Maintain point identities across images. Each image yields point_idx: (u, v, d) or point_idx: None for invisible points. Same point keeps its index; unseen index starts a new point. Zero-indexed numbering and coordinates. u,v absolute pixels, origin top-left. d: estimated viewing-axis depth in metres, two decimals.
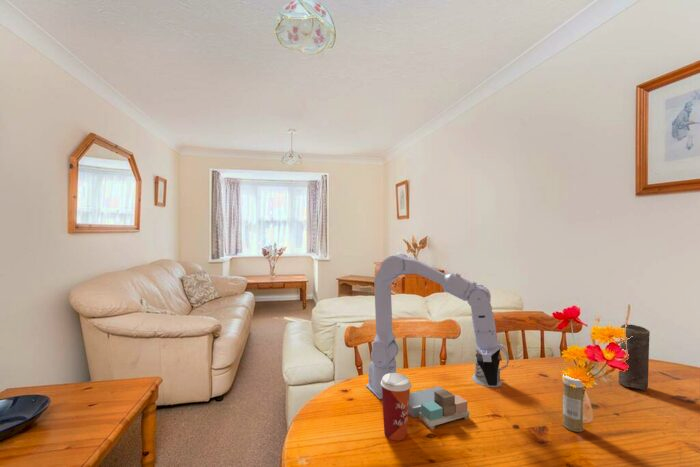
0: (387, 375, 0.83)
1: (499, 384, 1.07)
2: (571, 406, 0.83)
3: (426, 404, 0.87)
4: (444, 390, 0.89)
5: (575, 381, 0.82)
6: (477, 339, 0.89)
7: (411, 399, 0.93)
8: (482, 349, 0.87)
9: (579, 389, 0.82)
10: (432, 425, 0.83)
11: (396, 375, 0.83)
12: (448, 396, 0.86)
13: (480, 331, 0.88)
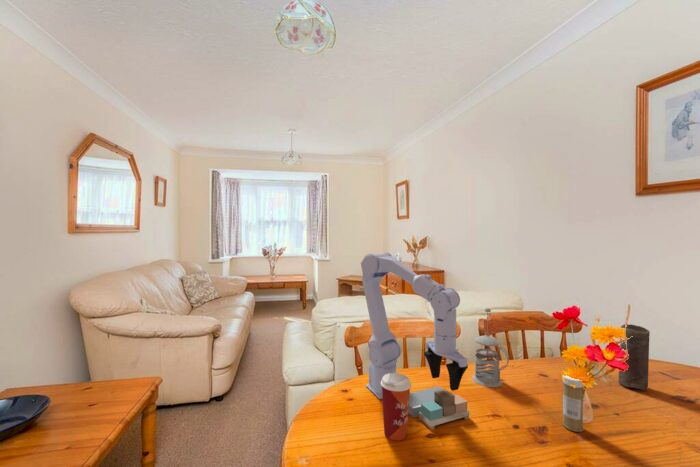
0: (387, 375, 0.83)
1: (499, 384, 1.07)
2: (571, 406, 0.83)
3: (426, 404, 0.87)
4: (444, 390, 0.89)
5: (575, 381, 0.82)
6: (443, 345, 0.85)
7: (411, 399, 0.93)
8: (448, 354, 0.85)
9: (579, 389, 0.82)
10: (432, 425, 0.83)
11: (396, 375, 0.83)
12: (448, 396, 0.86)
13: (437, 334, 0.86)
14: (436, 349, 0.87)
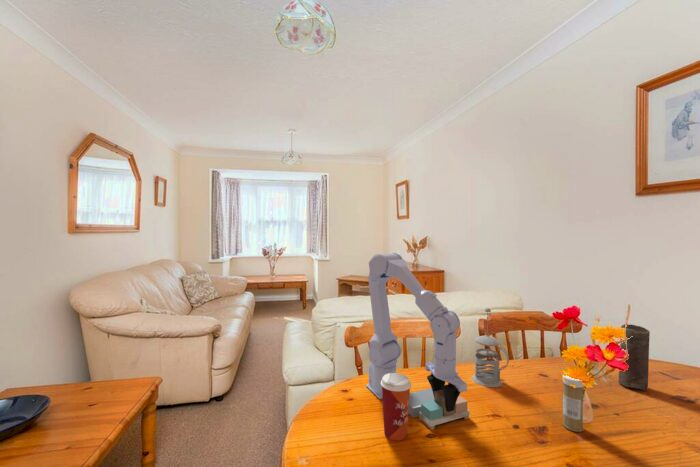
0: (387, 375, 0.83)
1: (499, 384, 1.07)
2: (571, 406, 0.83)
3: (426, 404, 0.87)
4: None
5: (575, 381, 0.82)
6: (443, 369, 0.85)
7: (411, 399, 0.93)
8: (448, 378, 0.85)
9: (579, 389, 0.82)
10: (432, 425, 0.83)
11: (396, 375, 0.83)
12: None
13: (436, 357, 0.86)
14: (436, 372, 0.87)
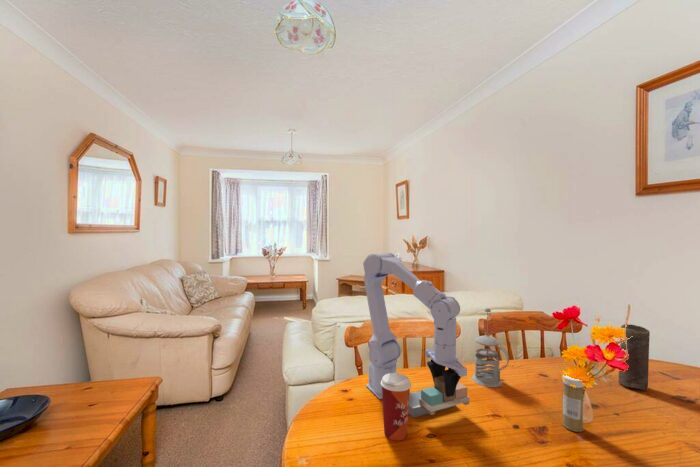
0: (387, 375, 0.83)
1: (499, 384, 1.07)
2: (571, 406, 0.83)
3: (426, 390, 0.87)
4: None
5: (575, 381, 0.82)
6: (443, 354, 0.85)
7: (411, 399, 0.93)
8: (448, 363, 0.85)
9: (579, 389, 0.82)
10: (432, 410, 0.83)
11: (396, 375, 0.83)
12: None
13: (436, 342, 0.86)
14: (436, 358, 0.87)
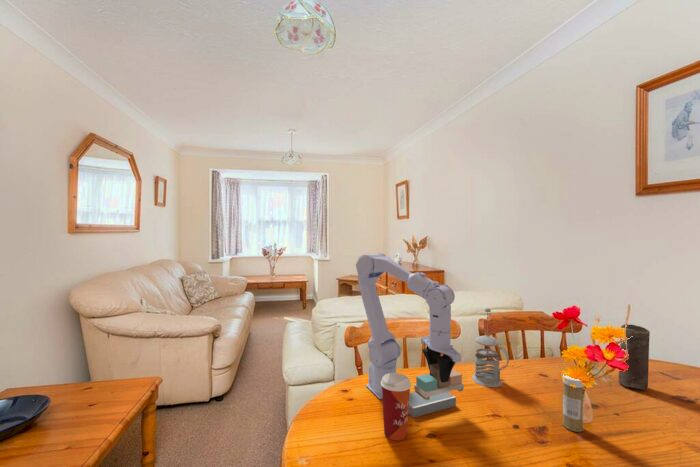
0: (387, 375, 0.83)
1: (499, 384, 1.07)
2: (571, 406, 0.83)
3: (421, 376, 0.89)
4: None
5: (575, 381, 0.82)
6: (437, 340, 0.87)
7: (411, 399, 0.93)
8: (443, 349, 0.87)
9: (579, 389, 0.82)
10: (427, 396, 0.85)
11: (396, 375, 0.83)
12: None
13: (432, 329, 0.88)
14: (431, 344, 0.89)
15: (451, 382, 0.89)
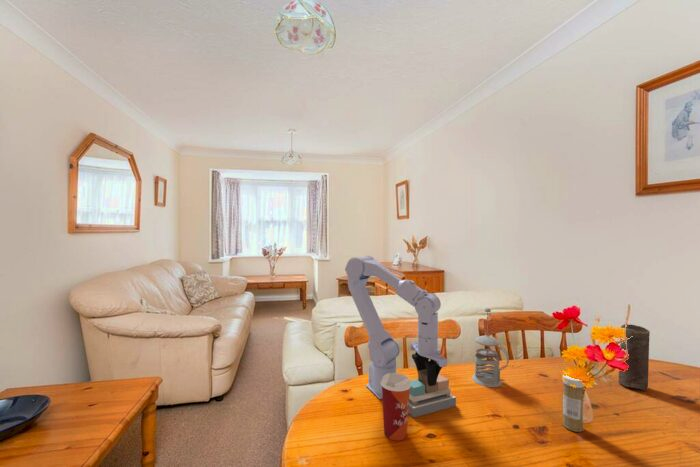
0: (387, 375, 0.83)
1: (499, 384, 1.07)
2: (571, 406, 0.83)
3: (410, 382, 0.94)
4: None
5: (575, 381, 0.82)
6: (425, 346, 0.92)
7: None
8: (430, 355, 0.92)
9: (579, 389, 0.82)
10: (415, 400, 0.90)
11: (396, 375, 0.83)
12: None
13: (421, 336, 0.93)
14: (419, 350, 0.93)
15: (438, 387, 0.94)
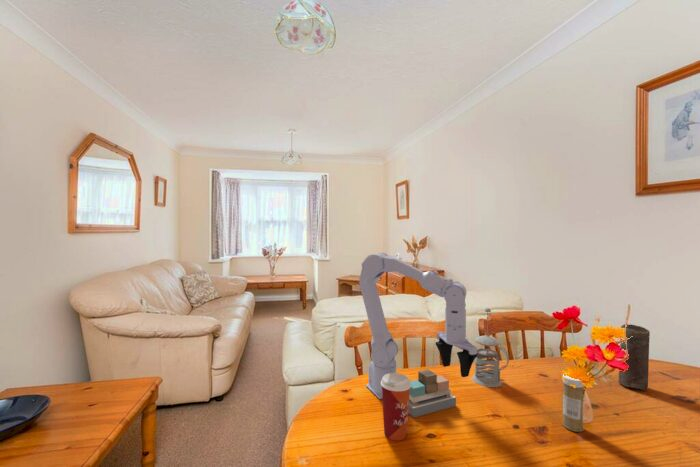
0: (387, 375, 0.83)
1: (499, 384, 1.07)
2: (571, 406, 0.83)
3: (410, 382, 0.94)
4: (427, 370, 0.96)
5: (575, 381, 0.82)
6: (454, 334, 0.91)
7: None
8: (459, 343, 0.91)
9: (579, 389, 0.82)
10: (415, 401, 0.90)
11: (396, 375, 0.83)
12: (430, 375, 0.93)
13: (451, 325, 0.92)
14: (447, 339, 0.93)
15: (438, 388, 0.94)
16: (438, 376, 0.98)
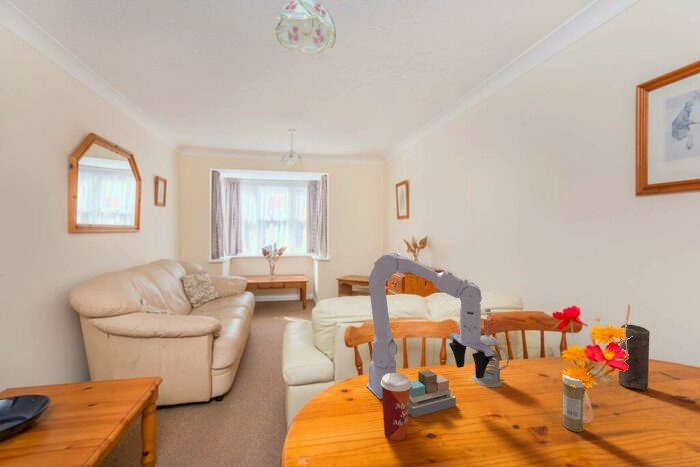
0: (387, 375, 0.83)
1: (499, 384, 1.07)
2: (571, 406, 0.83)
3: (410, 382, 0.94)
4: (427, 370, 0.96)
5: (575, 381, 0.82)
6: (469, 336, 0.91)
7: None
8: (474, 344, 0.90)
9: (579, 389, 0.82)
10: (415, 401, 0.90)
11: (396, 375, 0.83)
12: (430, 375, 0.93)
13: (466, 326, 0.91)
14: (462, 340, 0.92)
15: (438, 388, 0.94)
16: (438, 376, 0.98)
